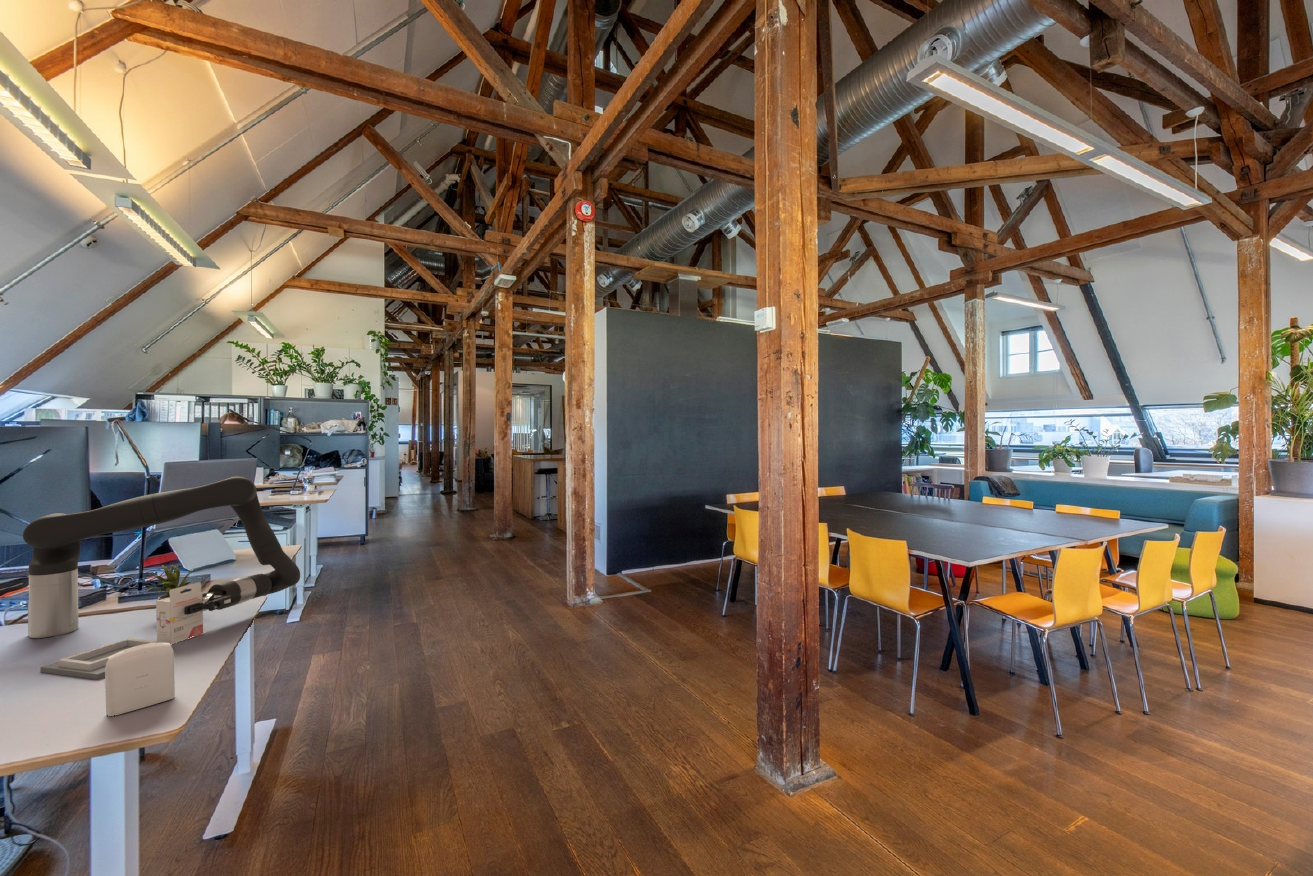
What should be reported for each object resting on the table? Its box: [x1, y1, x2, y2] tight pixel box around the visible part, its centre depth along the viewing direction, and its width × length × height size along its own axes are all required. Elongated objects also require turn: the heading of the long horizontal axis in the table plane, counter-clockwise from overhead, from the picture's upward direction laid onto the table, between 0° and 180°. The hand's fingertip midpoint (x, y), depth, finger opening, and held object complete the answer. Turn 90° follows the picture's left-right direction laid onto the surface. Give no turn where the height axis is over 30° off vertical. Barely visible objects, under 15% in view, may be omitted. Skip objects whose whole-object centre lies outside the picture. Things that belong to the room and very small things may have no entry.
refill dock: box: [40, 637, 176, 680], centre depth 132 cm, size 18×16×3 cm
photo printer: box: [104, 643, 176, 717], centre depth 110 cm, size 10×4×12 cm, turn 140°
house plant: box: [141, 562, 199, 600], centre depth 165 cm, size 14×14×16 cm
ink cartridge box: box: [155, 582, 204, 645], centre depth 146 cm, size 9×5×15 cm, turn 168°
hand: (172, 610), depth 145 cm, fingers open, 8 cm apart
